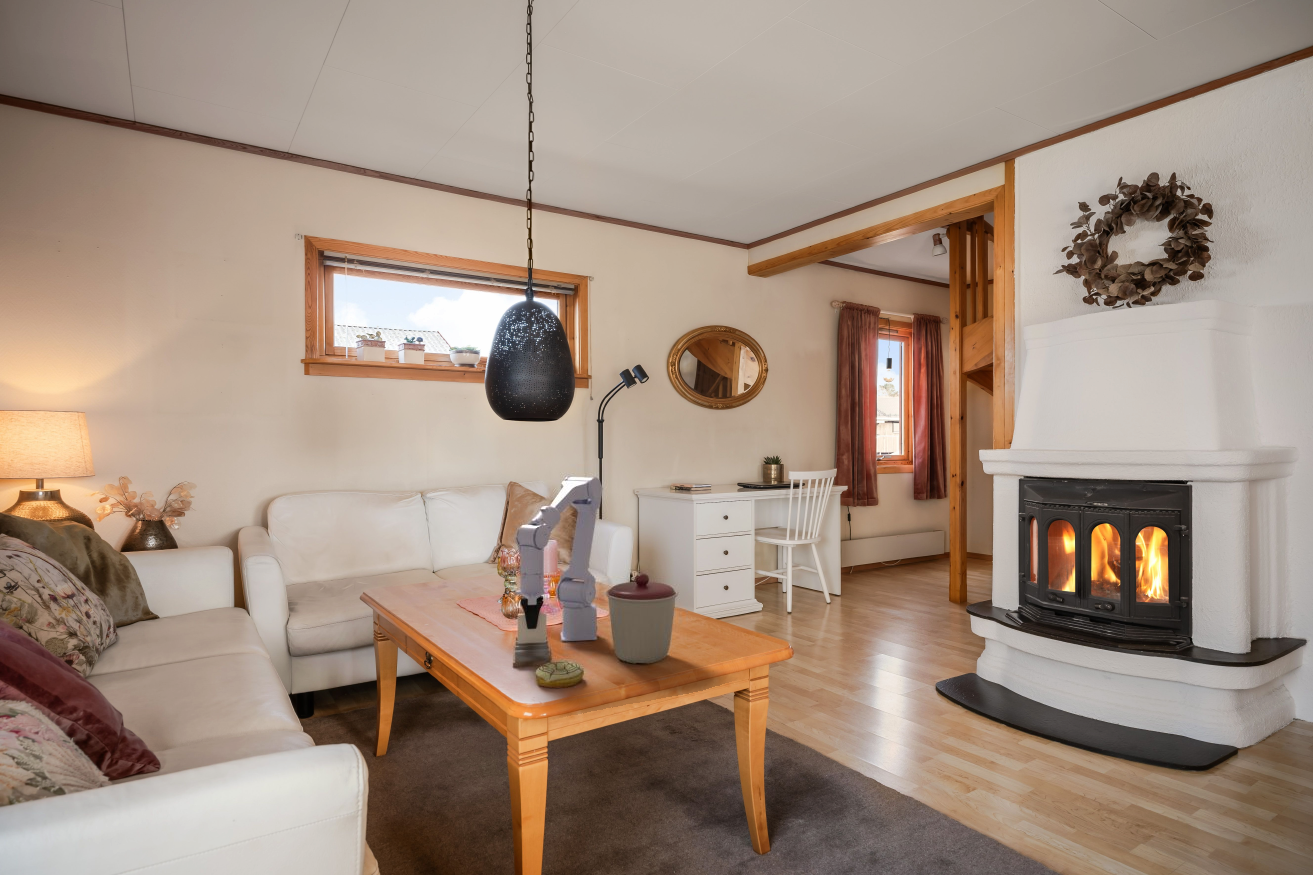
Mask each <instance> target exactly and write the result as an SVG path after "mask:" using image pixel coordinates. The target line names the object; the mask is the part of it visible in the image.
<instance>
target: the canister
mask: <svg viewBox="0 0 1313 875" xmlns="http://www.w3.org/2000/svg"><path fill="white" fill-rule="evenodd" d="M678 595H679V591H678V590H677V589H675V588H673V587H672V586H671V585H669V584H665V583H662V582H657V581H656V582H655V581H650V576H649V575H648V574H646V573H638V574H636V575H635V577H634V581H630V582H622V583H617V584H615V585H613V586H612V587H611V588H609V589H607V590H606V592H605V596H606V597H607V598H608V599H607V600H608V607H609V609H608V610H609V618H610V628H611V636H612V643H613V650H614V652H615V655H616V656H617V658H618V659H619V660H621V661H623V662H625V661H626V663H629V664H636V663H647V664H653V663H652V662H654V663H657V662H660V661H662V660H664V659H665V658H666V657H667V655H668V653H669V650H670V647H671V640H672V633H673V625H674V614H675V608H676V607H675V606H676V605H675V604H676V598H677V597H678ZM663 658H664V659H663ZM659 660H660V661H659ZM656 661H657V662H656Z"/></svg>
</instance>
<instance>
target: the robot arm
mask: <svg viewBox="0 0 1313 875" xmlns="http://www.w3.org/2000/svg"><path fill="white" fill-rule="evenodd" d="M601 483H602V482H601V481H600V479H599V478H598V477H597V476H593V477H586V476H585V477H583V476H582V477H581V476H566V477H565V478H564V479H563V481H562V482H561V485H560V491H559V493H558V494H557V496H555V498H554V499H553V501H552V503H551V504H550V505H545V506H542V507H540V510H539V511H538V512H537V513H536V515H534V517H533V518H532V519H531V520H530V521H529V522H528V524H523V525H522V526H520V527H519V528H518V530H517V533H516V536H515V539H514V540H515V543H516V545H517V548H518V554H519V555H520V576H519V577H520V581H519V582H520V584H519V585H520V589H519V590H518V589H517V590H516V589H515V595H520V596H522V597H520V603H519V604H520V605H521V608H522V609H523V614H524V613H525V618H526V624H527V628H528V629H536V627H537V623H538V617H539V613H541V612H540V611H541V609H542V607H543V604H544V602H545V601H544V596H543V595H544V594H545V589H544V582H545V580H544V576H545V575H544V569H545V568H544V566H545V565H544V563H545V562H544V561H545V558H544V556H545V554H544V553H545V552H544V551H545V548H546V547H547V546H548V543H549V540H550V537H551V534H552V531H553V530H554V529H555V528H556V526H558V524H559V523H560V522H561V514H562V513H563V512H564V511H565V510H566V509H567V508H568V507H569V506H570V505H571V506H572V507H573V508H574V509H576V511H577V516H576V517H577V518H576V525H575V529H574V530H575V531H574V536H573V541H572V543H573V544H572V549H571V555H570V560H569V562H570V563H569V567H568V568H567V569H566V570H565V571H563V572H562V573H561V574H560V577H559V581H558V583H557V585H556V588H555V596H556V599H557V600H558V601H559V602H560V604H559V605H560V606H562V631H561V632H560V634H559V635H560V640H561V642H579V641H597V639H598V637H597V636H598V634H597V632H598V617H597V615H598V614H597V613H598V612H597V605H596V604H592V603H593V602H594V600H595V598H596V591H597V590H596V580H597V578H595V576H594V575H593V573H591V572H590V570H589V566H590V559H591V554H592V548H593V546H592V545H593V541H594V540H593V539H594V534H595V529H596V528H595V527H596V521H597V514H598V513H597V512H598V509H599V508H601V501H602V495H603V490H604V489H603V488H604V487H603V485H602V484H601Z"/></svg>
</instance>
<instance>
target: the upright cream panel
mask: <svg viewBox="0 0 1313 875" xmlns="http://www.w3.org/2000/svg"><path fill="white" fill-rule="evenodd" d="M546 636H547V612H539V617H538V623H537V627H536V629H528V628H527V624H526V618H525V613H524V612H523V613H517V637H518V643H544V642H546Z"/></svg>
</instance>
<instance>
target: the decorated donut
mask: <svg viewBox="0 0 1313 875" xmlns="http://www.w3.org/2000/svg"><path fill="white" fill-rule="evenodd" d="M584 672H585V669H584V667H583V666H582V665H581V664H579V663H577V662H575V661H572V660H566V659H565V660H563V659H562V660H554V661H551V662H550V663H546V664H544V665H542V666H538V668H537V669H536V671H535V673H534V674H535V680H536V683H537V685H538V686H540V687H543V686H544V687H543V688H548V687H549V688H551V689H559V687H560V688H566V687H573V686H575V685H577V684H578V683H580V681H582V679H583V676H584V675H585V673H584ZM552 687H554V688H552Z"/></svg>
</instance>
